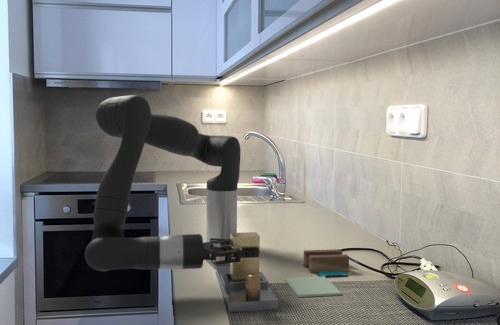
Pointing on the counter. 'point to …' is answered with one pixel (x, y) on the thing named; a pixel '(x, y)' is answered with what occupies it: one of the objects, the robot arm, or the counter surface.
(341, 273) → the smartphone
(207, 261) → the smartphone
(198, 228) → the counter surface
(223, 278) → the grey slotted base
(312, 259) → the phone stand
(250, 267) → the brushed brass block
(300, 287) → the pad
